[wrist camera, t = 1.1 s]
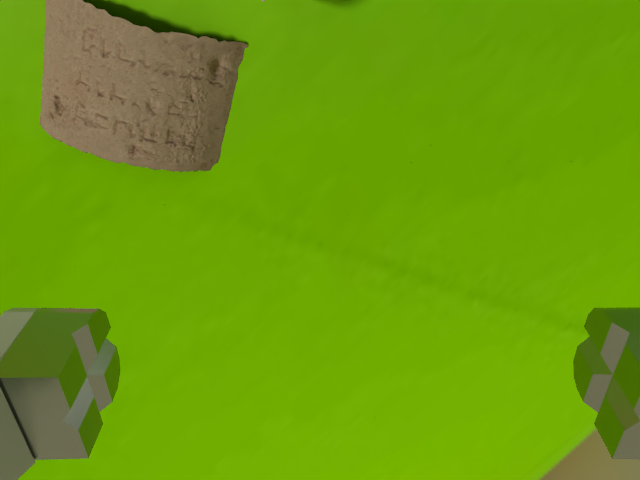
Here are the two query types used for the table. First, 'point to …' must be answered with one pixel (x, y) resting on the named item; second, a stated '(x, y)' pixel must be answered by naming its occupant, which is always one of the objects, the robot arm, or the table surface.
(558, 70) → the table surface
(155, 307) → the table surface
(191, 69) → the clay tablet
